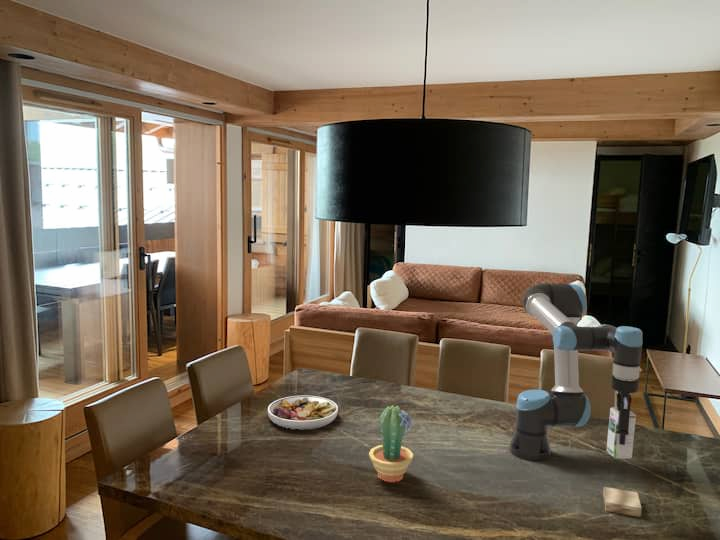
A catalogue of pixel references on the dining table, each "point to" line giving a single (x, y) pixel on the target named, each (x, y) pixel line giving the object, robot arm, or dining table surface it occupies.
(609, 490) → the panel
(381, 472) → the potted cactus
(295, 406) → the bowl
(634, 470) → the dining table surface
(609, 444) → the syrup box
